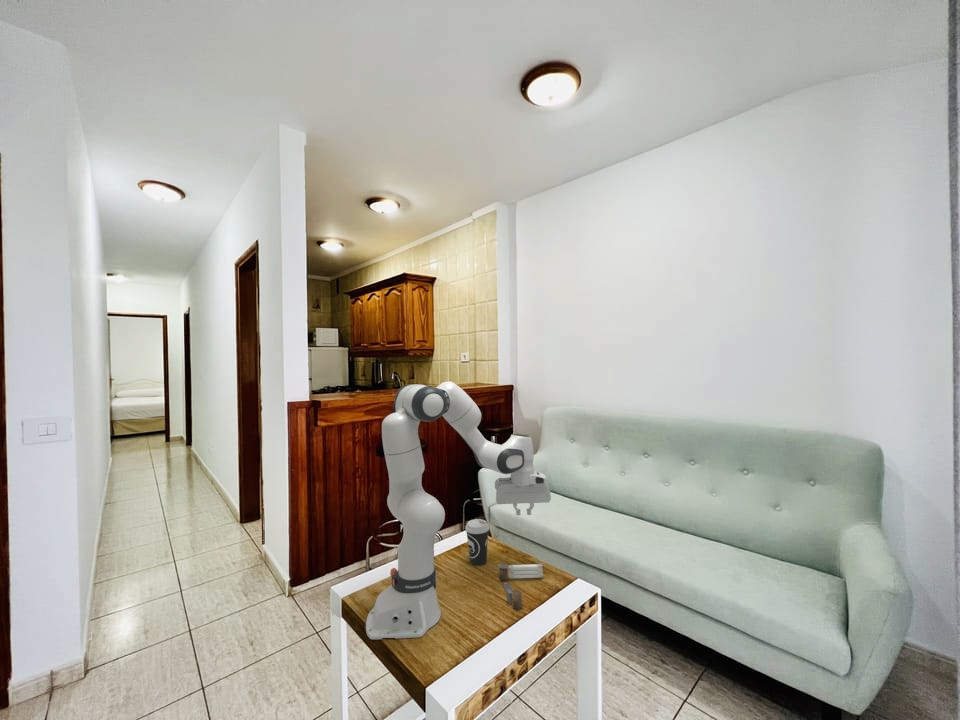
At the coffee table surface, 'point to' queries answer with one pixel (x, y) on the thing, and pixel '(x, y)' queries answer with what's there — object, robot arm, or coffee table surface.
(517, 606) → the brown rounded cylinder
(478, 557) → the coffee cup
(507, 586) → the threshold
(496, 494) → the robot arm
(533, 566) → the white long block
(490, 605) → the coffee table surface
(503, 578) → the hinge post
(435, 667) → the coffee table surface
